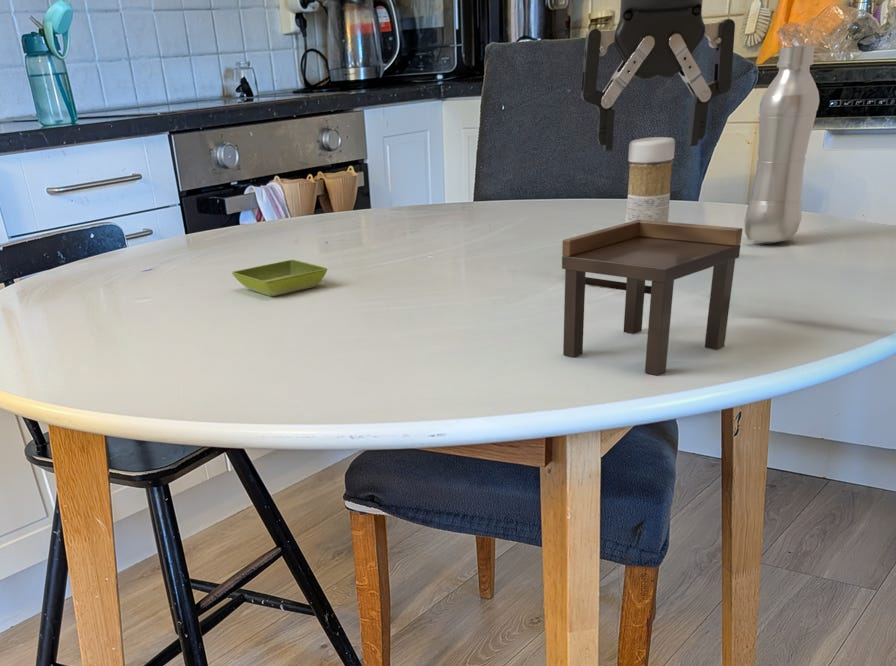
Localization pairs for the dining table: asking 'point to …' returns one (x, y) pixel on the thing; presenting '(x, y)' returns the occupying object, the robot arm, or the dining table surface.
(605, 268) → the small brown wooden table
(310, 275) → the green square tray
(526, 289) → the dining table surface
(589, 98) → the robot arm
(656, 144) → the sprinkles bottle
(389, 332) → the dining table surface
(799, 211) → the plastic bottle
